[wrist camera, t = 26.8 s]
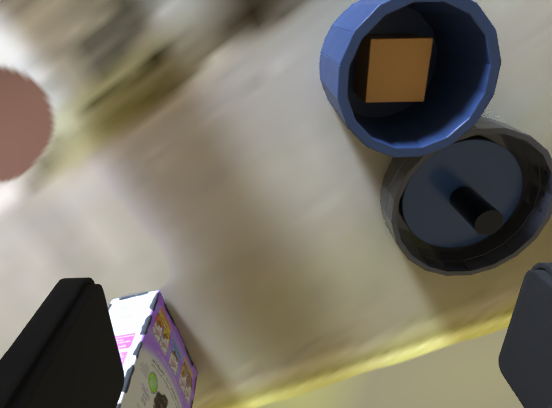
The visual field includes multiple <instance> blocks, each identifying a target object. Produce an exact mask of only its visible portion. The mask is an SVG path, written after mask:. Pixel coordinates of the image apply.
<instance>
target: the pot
mask: <svg viewBox="0 0 552 408" xmlns="http://www.w3.org/2000/svg"><path fill="white" fill-rule="evenodd" d="M373 34H415V35H421V36H426V37H432V38H433V44H432V50H431V57H430V64H429V71H428V77H427V84H426V91H425V97H424V101H423V102H377V103H366V102H364V101H363V100H362V99H361V98H360V97H359V96H358V95H357V94H356V93H355V92H353V88H354V74H355V59H356V52H357V49H358V47H359V45H360V43H361V41H362V39H363V38H364V37H365V36H366V35H373ZM500 65H501V58H500V51H499V45H498V39H497V33H496V30H495V28H494V26H493V25H492V23H491V22H490V21H489V19H488V18H487V16H486V15H485V14H484V12H483V11H482V9H481V8H480V6H479V5H478V4H477V3H476V2H474V1H472V0H360V1H358V2H357V3H354V4H352V5H351V6H350V7H349V8H348V9H347V10H346V11H344V12H343V13H342V14H341V15H340V16H339V18H338V19H337V20H336V21H335V22H334V24H333V25H332V26H331V28H330V30H329V32H328V34H327V36H326V38H325V41H324V44H323V47H322V50H321V55H320V80H321V82H322V85H323V89H324V91H325V93H326V96H327V99H328V101H329V102H330V104H331V105H332V106H333V108H334V109H335V110H336V112H337V113H338V115H339V116H340V117H341V119H342V120H343V122H344V123H345V124H346V126H347V127H348V128H349V129H350V130H351V131H352V132H353V133H354V134H355V135H356V137H357V138H358V139H359V140H360V141H361V142H362V143H363V144H364V145H365V146H367V147H368V148H371V149H373V150H376V151H378V152H381V153H383V154H386V155H389V156H391V157H422V156H424V155H427V154H430V153H432V152H435V151H437V150H440V149H442V148H445V147H447V146H450V145H451V144H453V143H454V142H455V141H456V140H457V139H459V138H460V137H461V136H462V135H463V134H464V133H466V132H467V131H468V130H469V129H470V128H472V127H473V126H474V125H475V123H477V121H478V120H479V118H480V117H481V115H482V113H483V112H484V110H485V108H486V107H487V105H488V104H489V102H490V100H491V99H492V97H493V95H494V92H495V88H496V83H497V79H498V74H499V70H500Z"/></svg>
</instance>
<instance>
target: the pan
mask: <svg viewBox="0 0 552 408" xmlns="http://www.w3.org/2000/svg"><path fill="white" fill-rule="evenodd" d="M467 138H481V139H486V140H490V141H493V142H496V143H497V144H499V145H501V146H503V147H504V148H506V149H507V150H509V151H510V152H511V153H512V154H513V156H514V157H515V158H516V160H517V161H518V164H519V166H520V168H521V172H522V180H523V184H522V192H521V196H520V199H519V202H518V204H517V206H516V208H515V210H514V211H513V213H512V215H511V216H510V217H509V219H508V220H507V221H506V222H505V223H504V224H503V225H502V226H501V228H500V229H499V230H498V231H496V232H495V233H493V234H491V235H489V236H488V237H486V238H484V239H483V240H481V241H478V242H476V243H473V244H470V245H467V246H462V247H455V248H443V247H437V246H433V245H430V244H428V243H425V242H423V241H422V240H420V239H419V238H417V237H416V236H415V235H414V234H413V233H412V232H411V231H410V229H409V228H408V226H407V225H406V223H405V221H404V218H403V215H402V211H401V197H402V194H403V192H404V190H405V188H406V186H407V184H408V182H409V179H410V178H411V176H412V175H413V174H414V173H415V172H416V171H417V170H418V169H419V168H420V167H421V165H422V164H423V163H424V162H425V161H426V160H427V159H428V158H429V157H431V156H432V155H434V154H435V153H437V152H438V151H440V150H441V149H440V150H437V151H435V152H432V153H430V154H427V155H424V156H422V157H395V158H394V159H393V161H392V162H391V164H390V166H389V168H388V170H387V172H386V174H385V177H384V180H383V183H382V189H381V200H380V202H381V210H382V214H383V218H384V220H385V224H386V226H387V228H388V229H389V231H390V233H391V235H392V236H393V238H394V240H395V242H396V243H397V245H398V246H399V247H400V249H401V250H402V252H403V253H404V254H405V256H406V257H407V258H408V259H409V260H410V261H412V262H413V263H415V264H416V265H418V266H419V267H421V268H423V269H424V270H426V271H430V272H434V273H438V274H442V275H446V276H454V275H472V274H475V273H479V272H483V271H486V270H490V269H493V268H495V267H497V266H499V265H501V264H503V263H505V262H506V261H508V260H510V259H512V258H514V257H516V256H517V255H518V254H519V253H521V252H522V251H523V250H524V249H525V248H526V247H527V246H528V245H530V244H531V243H532V242H533V241H534V240H535V239H536V238H537V237H538V235H539V234H540V232H541V231H542V229H543V228H544V226H545V225H546V224H547V222H548V221H549V219H550V217H551V214H552V158H551V156H550V154H549V152H548V150H546V149H545V148H544V147H543V146H542V145H541V144H539V143H538V142H537V141H536V140H535V139H534V138H533V137H531V136H530V135H528V134H526V133H524V132H521V131H519V130H517V129H515V128H513V127H511V126H509V125H507V124H504V123H501V122H498V121H495V120H492V119H489V118H485V117H480V118H479V120H478V121H477V123H475V125H474V126H473V127H472V128H470V129H469V130H468V131H467V132H466V133H464V134H463V135H462V136H461V137H460V138H459V139H457V140H456V141H459V140H462V139H467ZM456 141H455V142H456ZM442 149H443V148H442Z"/></svg>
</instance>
